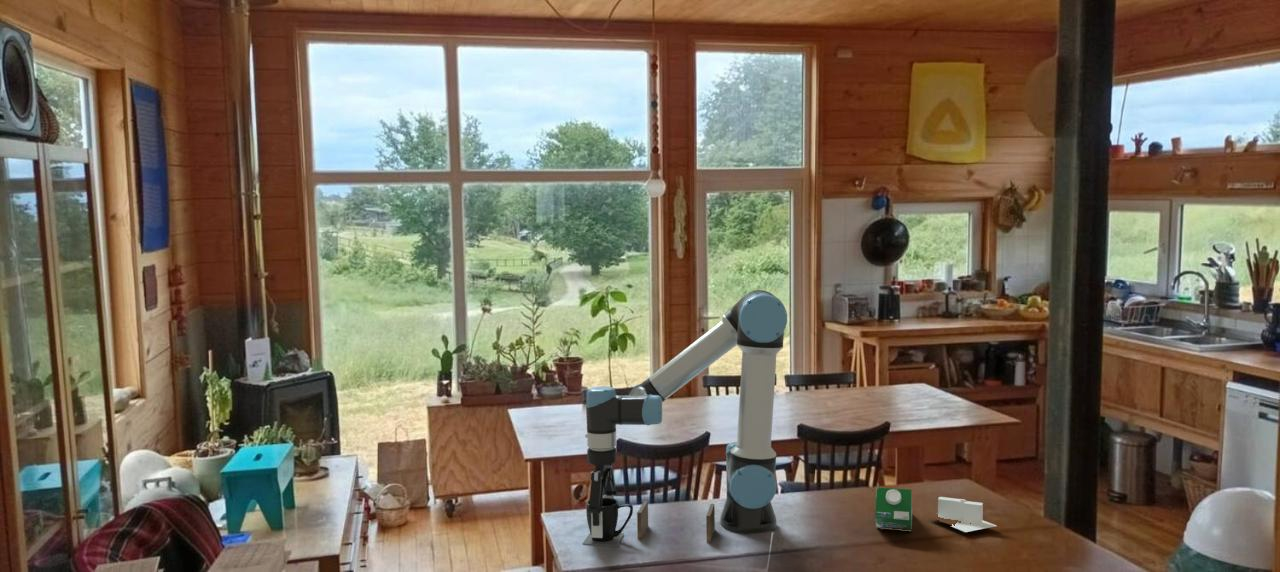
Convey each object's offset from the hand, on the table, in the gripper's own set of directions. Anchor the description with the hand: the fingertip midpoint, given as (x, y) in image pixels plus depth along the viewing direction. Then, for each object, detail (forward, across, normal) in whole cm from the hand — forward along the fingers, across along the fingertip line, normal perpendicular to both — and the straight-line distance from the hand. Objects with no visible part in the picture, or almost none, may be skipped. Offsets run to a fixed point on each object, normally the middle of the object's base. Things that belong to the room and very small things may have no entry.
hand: (603, 528), depth 236 cm
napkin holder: (+4, -31, +93) cm, 98 cm away
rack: (+3, -8, +18) cm, 20 cm away
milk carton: (+9, -38, +76) cm, 86 cm away
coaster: (+3, 0, 0) cm, 3 cm away
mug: (+3, 0, +2) cm, 3 cm away
